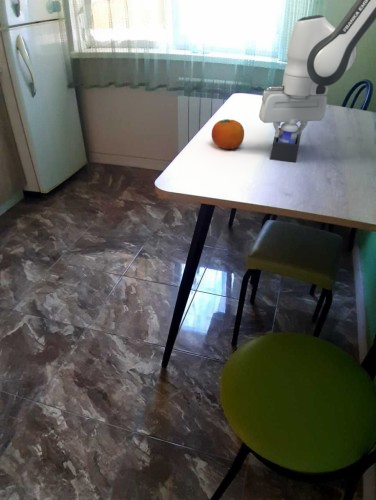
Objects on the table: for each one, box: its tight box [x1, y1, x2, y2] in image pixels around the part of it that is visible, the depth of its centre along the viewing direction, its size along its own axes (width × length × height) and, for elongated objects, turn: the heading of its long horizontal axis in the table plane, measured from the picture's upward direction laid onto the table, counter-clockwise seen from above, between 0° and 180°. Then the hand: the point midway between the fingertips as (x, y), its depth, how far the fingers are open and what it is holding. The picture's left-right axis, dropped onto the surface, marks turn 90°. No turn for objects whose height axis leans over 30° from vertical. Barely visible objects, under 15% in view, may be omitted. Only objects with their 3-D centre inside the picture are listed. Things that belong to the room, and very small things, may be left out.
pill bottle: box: [278, 119, 299, 144], centre depth 127 cm, size 5×5×10 cm
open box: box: [269, 127, 301, 164], centre depth 133 cm, size 8×15×5 cm, turn 167°
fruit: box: [211, 118, 245, 150], centre depth 133 cm, size 11×10×8 cm
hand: (287, 136), depth 128 cm, fingers closed on pill bottle, 5 cm apart
